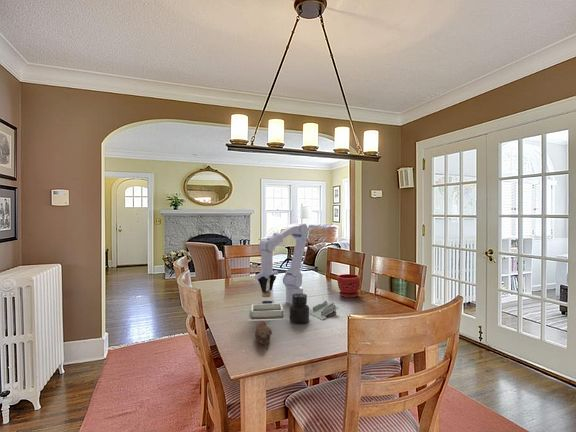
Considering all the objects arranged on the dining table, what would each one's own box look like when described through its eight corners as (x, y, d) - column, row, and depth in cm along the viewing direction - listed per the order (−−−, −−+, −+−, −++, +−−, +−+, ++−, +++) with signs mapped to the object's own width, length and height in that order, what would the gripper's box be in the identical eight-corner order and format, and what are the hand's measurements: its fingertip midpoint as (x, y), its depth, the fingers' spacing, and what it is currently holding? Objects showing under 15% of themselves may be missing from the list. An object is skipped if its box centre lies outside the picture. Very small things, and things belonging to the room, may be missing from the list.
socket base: (274, 304, 172) (274, 299, 172) (275, 309, 164) (275, 304, 164) (259, 305, 171) (259, 300, 171) (259, 309, 163) (259, 304, 163)
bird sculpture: (269, 327, 138) (269, 316, 138) (274, 353, 113) (274, 339, 113) (254, 328, 137) (254, 316, 137) (256, 354, 112) (256, 340, 112)
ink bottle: (313, 320, 146) (313, 295, 146) (302, 326, 139) (301, 299, 139) (297, 316, 152) (297, 291, 152) (285, 321, 146) (285, 295, 146)
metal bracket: (324, 297, 166) (342, 304, 153) (327, 307, 167) (345, 315, 153) (302, 308, 160) (318, 317, 146) (304, 319, 160) (321, 329, 147)
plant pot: (352, 292, 198) (352, 272, 197) (363, 297, 185) (364, 277, 185) (333, 293, 193) (333, 274, 193) (344, 299, 181) (344, 278, 181)
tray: (281, 310, 162) (281, 303, 162) (283, 317, 150) (283, 310, 150) (251, 311, 161) (251, 304, 161) (251, 319, 149) (251, 311, 149)
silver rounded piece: (266, 294, 163) (266, 275, 163) (272, 296, 160) (272, 277, 159) (260, 295, 160) (260, 277, 159) (265, 297, 157) (266, 278, 156)
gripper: (270, 261, 167) (270, 287, 167) (250, 264, 156) (250, 292, 156) (280, 262, 163) (280, 289, 163) (260, 266, 152) (260, 294, 152)
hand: (266, 290), depth 159 cm, fingers closed on silver rounded piece, 4 cm apart
